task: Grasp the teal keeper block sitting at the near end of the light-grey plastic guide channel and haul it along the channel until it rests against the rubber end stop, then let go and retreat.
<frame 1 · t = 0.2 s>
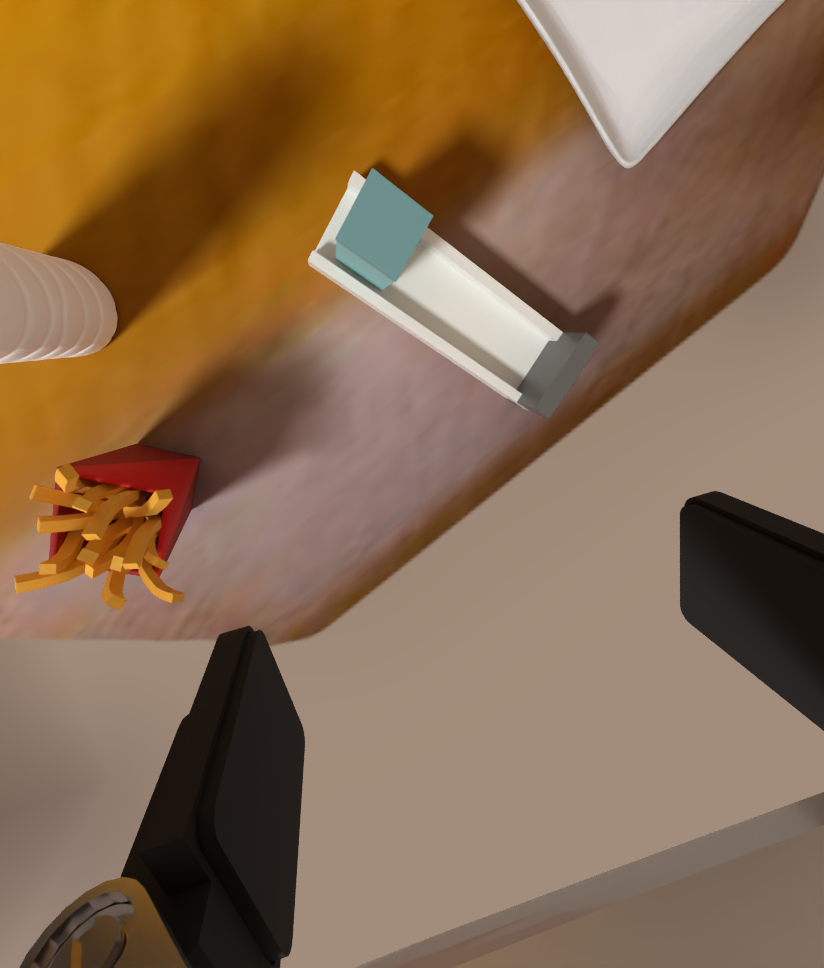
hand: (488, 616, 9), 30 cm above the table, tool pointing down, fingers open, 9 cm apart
keeper: (377, 240, 29), point 5 cm above the table, slide at 0.0 cm
channel: (444, 306, 36), on the table
french fries: (180, 471, 37), on the table
water bottle: (55, 314, 32), on the table
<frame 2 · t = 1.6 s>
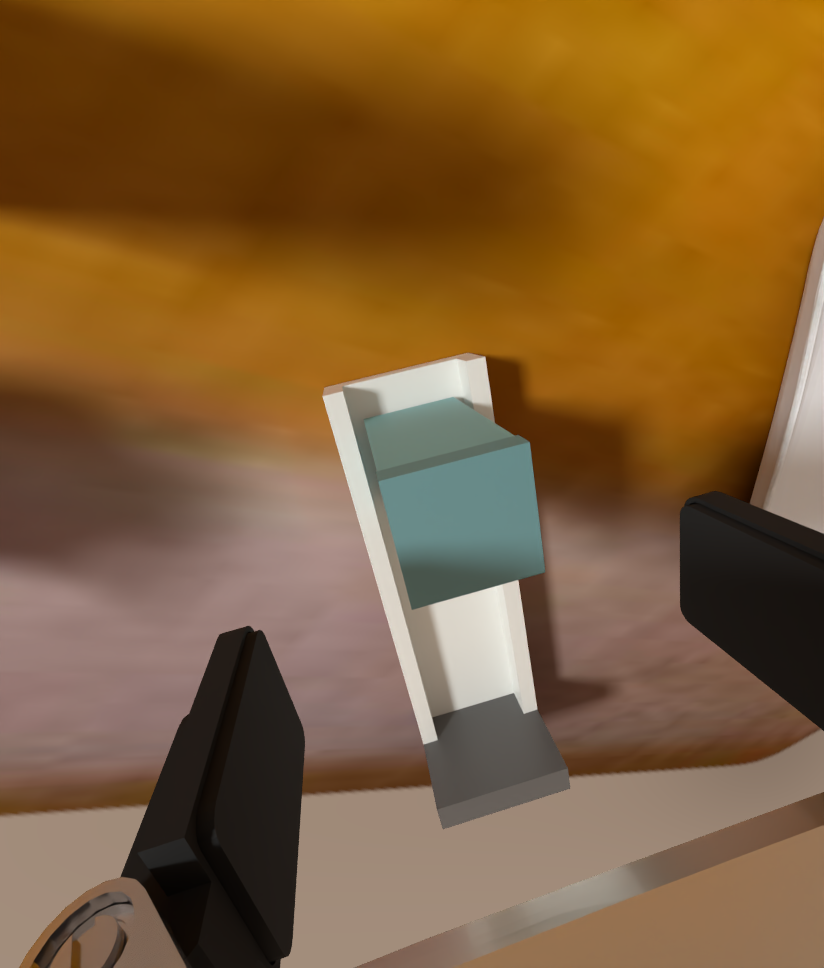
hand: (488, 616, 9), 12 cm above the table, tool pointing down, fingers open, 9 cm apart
keeper: (437, 481, 16), point 5 cm above the table, slide at 0.0 cm
channel: (441, 567, 23), on the table
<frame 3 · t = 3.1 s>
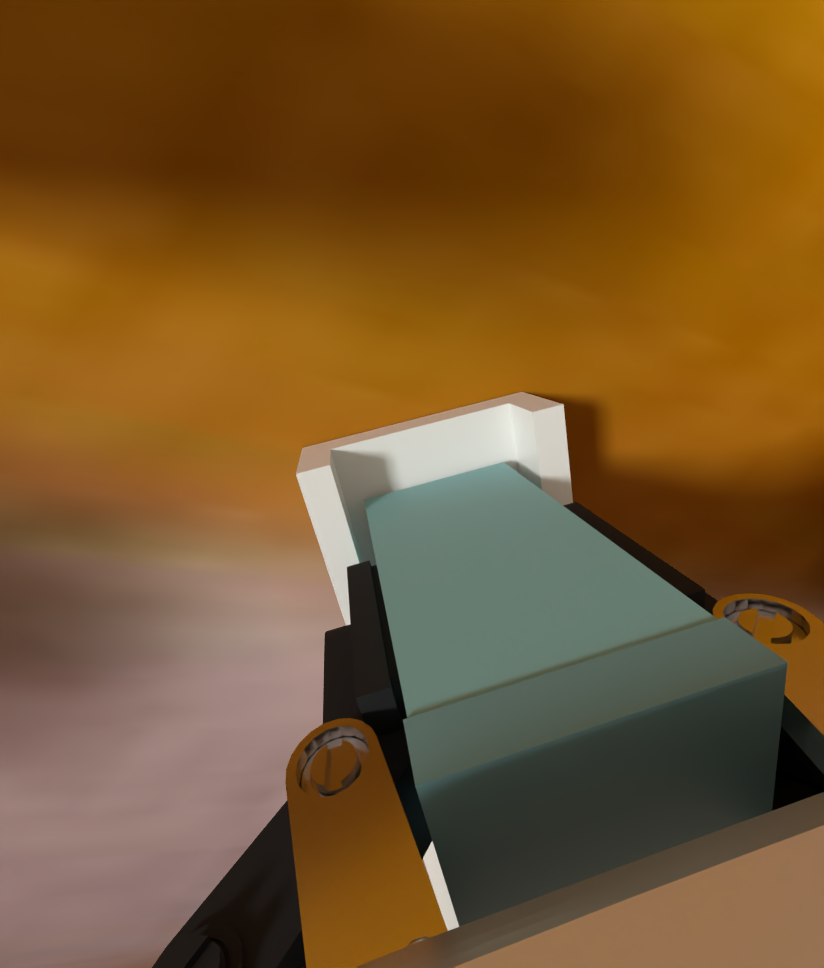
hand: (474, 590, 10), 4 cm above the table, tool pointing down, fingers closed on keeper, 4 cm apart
keeper: (497, 631, 9), point 5 cm above the table, slide at 0.0 cm, touching gripper
channel: (474, 691, 16), on the table
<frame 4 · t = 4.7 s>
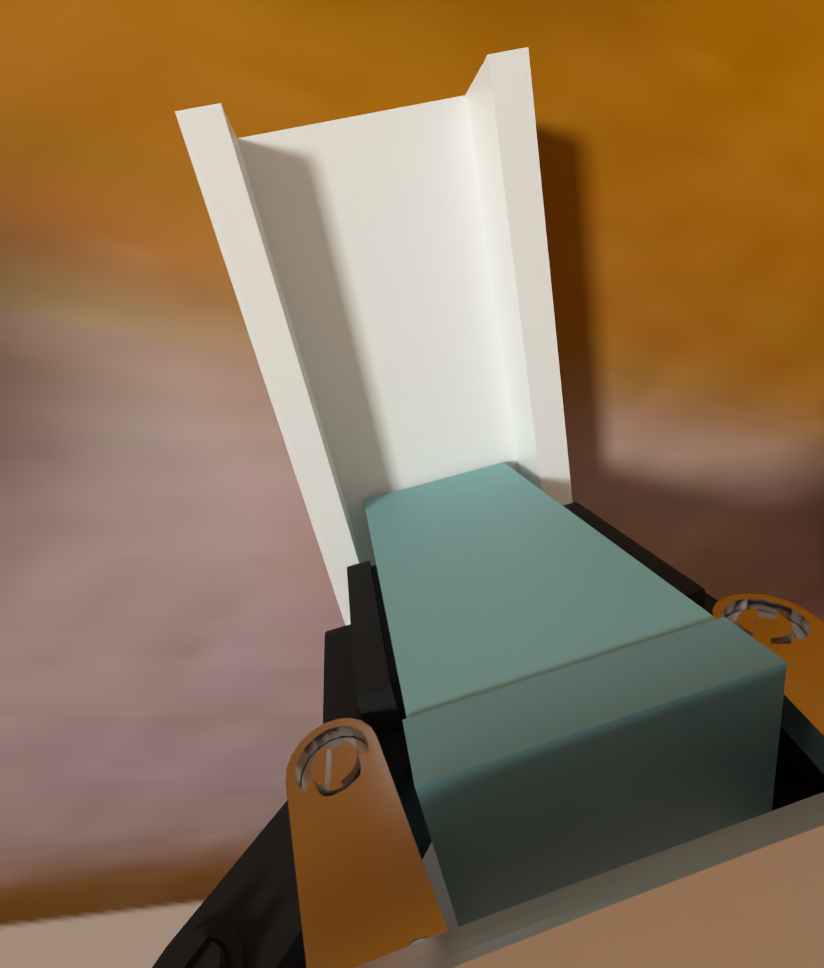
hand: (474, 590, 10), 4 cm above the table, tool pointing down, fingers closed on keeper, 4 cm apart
keeper: (497, 632, 9), point 5 cm above the table, slide at 6.9 cm, touching gripper
channel: (438, 528, 14), on the table
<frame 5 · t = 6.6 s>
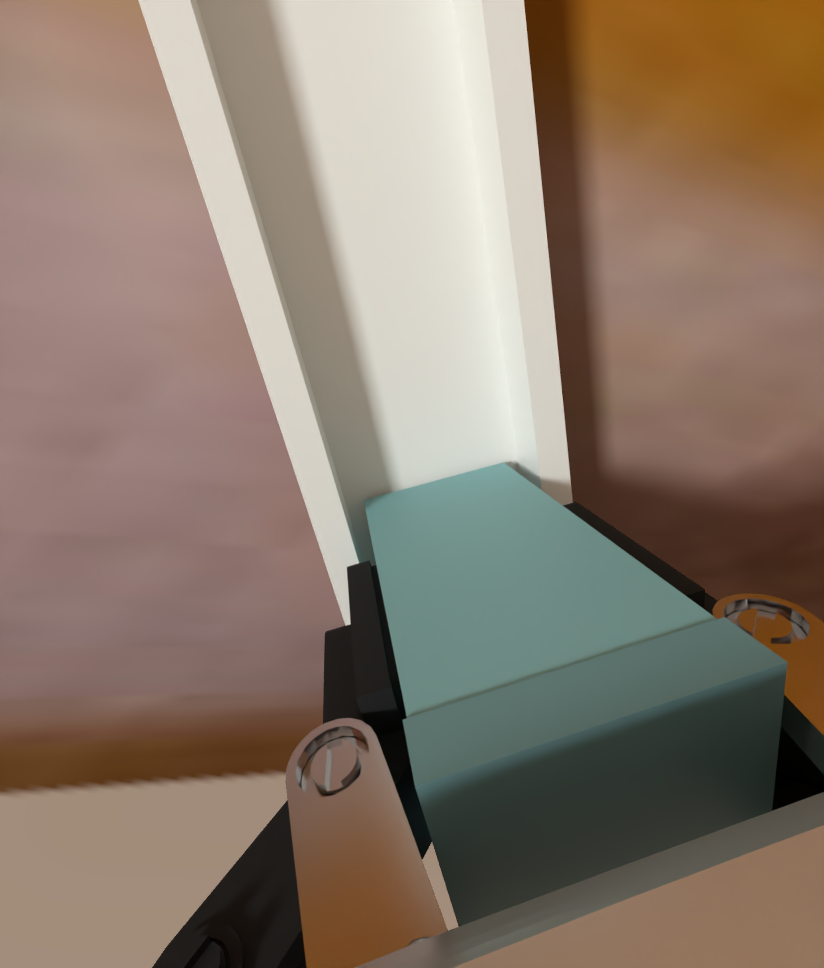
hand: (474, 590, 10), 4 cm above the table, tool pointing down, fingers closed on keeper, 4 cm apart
keeper: (497, 632, 9), point 5 cm above the table, slide at 13.8 cm, touching gripper
channel: (388, 300, 12), on the table
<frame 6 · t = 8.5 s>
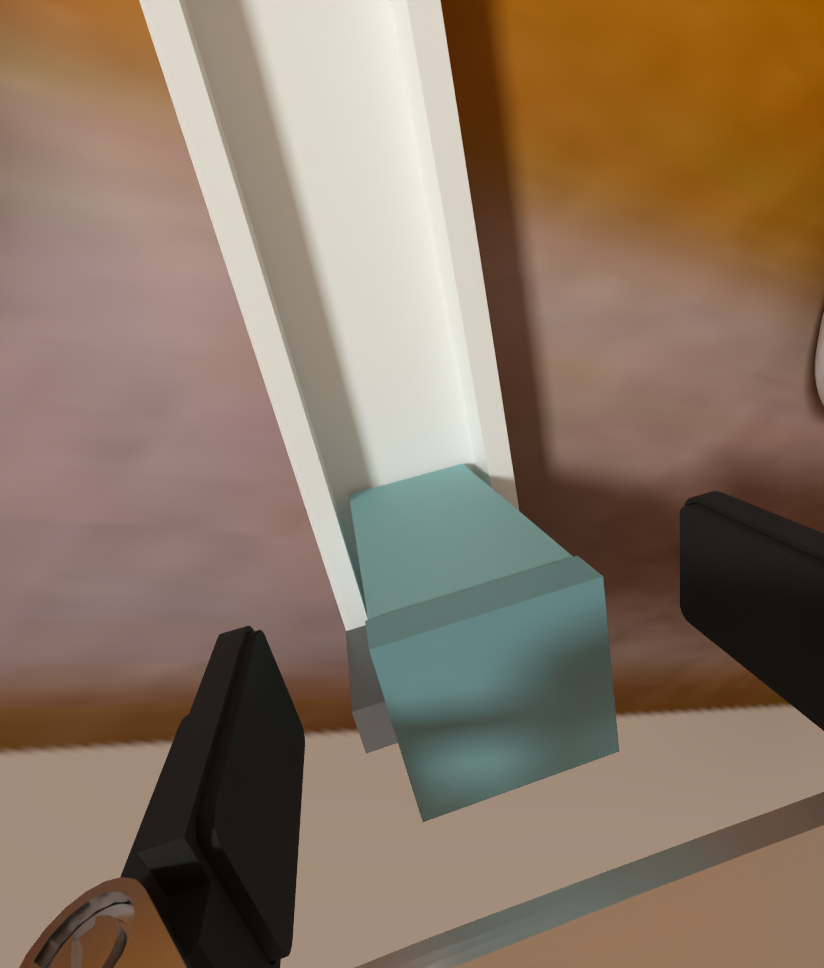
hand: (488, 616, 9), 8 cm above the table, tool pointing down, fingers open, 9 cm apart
keeper: (449, 590, 12), point 5 cm above the table, slide at 13.8 cm
channel: (367, 334, 15), on the table
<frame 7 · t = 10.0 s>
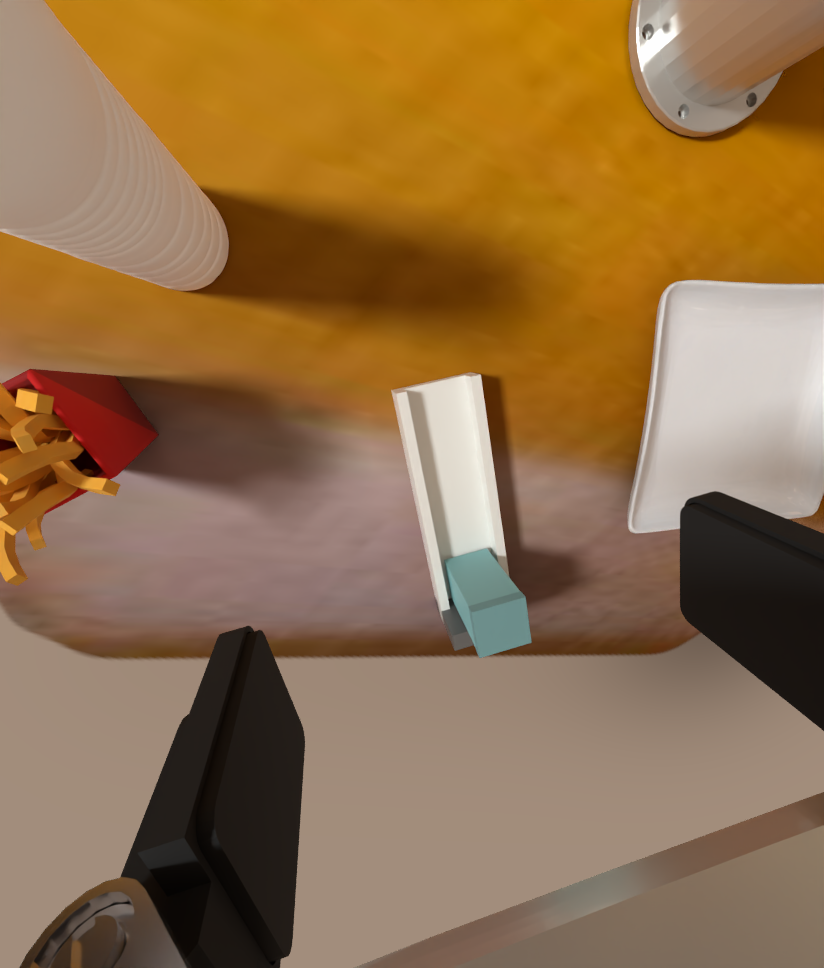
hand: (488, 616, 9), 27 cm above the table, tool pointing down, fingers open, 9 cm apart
keeper: (483, 597, 36), point 5 cm above the table, slide at 13.8 cm
channel: (452, 500, 39), on the table
french fries: (127, 428, 32), on the table
water bottle: (162, 229, 29), on the table
salad plate: (720, 408, 42), on the table
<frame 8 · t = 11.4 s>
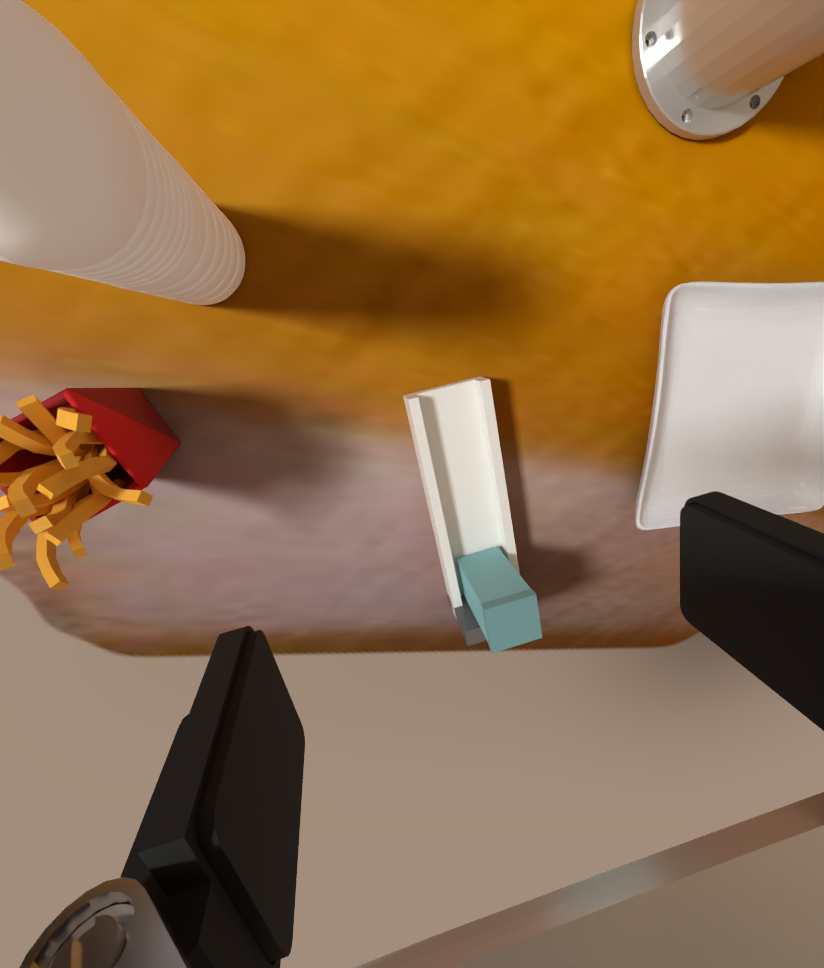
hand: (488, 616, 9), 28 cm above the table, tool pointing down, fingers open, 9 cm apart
keeper: (495, 594, 37), point 5 cm above the table, slide at 13.8 cm
channel: (463, 500, 40), on the table
french fries: (151, 437, 34), on the table
water bottle: (181, 246, 30), on the table
salad plate: (726, 405, 42), on the table
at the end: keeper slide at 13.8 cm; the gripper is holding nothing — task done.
